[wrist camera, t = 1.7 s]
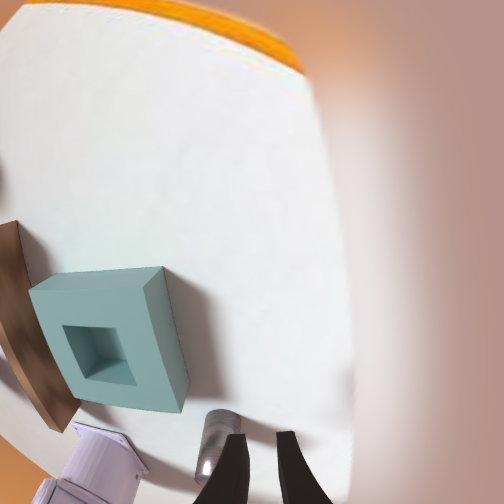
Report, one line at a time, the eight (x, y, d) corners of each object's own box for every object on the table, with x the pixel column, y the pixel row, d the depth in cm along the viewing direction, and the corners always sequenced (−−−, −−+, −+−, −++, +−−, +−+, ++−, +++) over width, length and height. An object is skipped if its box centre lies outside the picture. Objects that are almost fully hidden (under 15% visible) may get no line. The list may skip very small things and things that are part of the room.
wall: (81, 403, 22) (62, 433, 17) (68, 400, 22) (49, 428, 17) (16, 220, 17) (-24, 232, 12) (5, 223, 17) (-33, 235, 12)
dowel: (242, 429, 22) (239, 490, 15) (209, 429, 22) (199, 488, 15) (238, 409, 21) (234, 474, 14) (202, 409, 21) (189, 471, 14)
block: (190, 379, 21) (181, 413, 17) (93, 371, 21) (74, 397, 17) (164, 264, 18) (142, 287, 14) (57, 272, 18) (28, 290, 14)
